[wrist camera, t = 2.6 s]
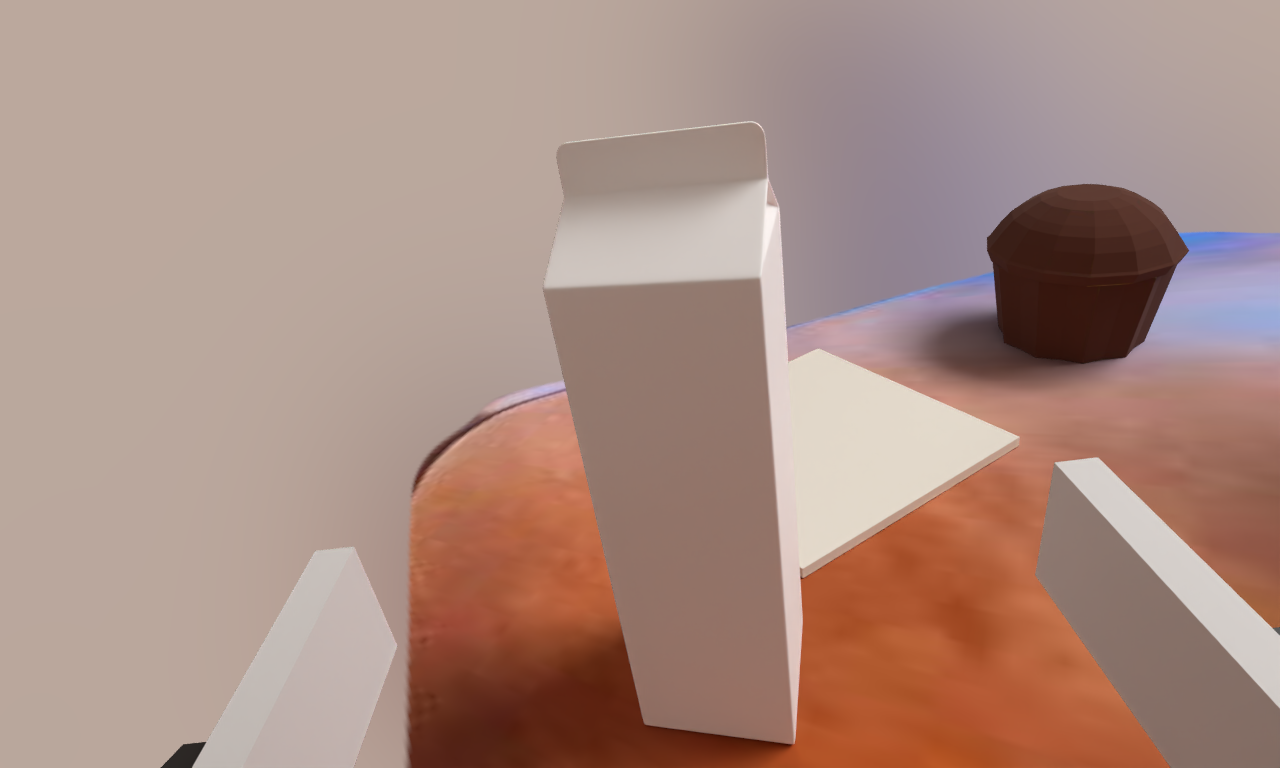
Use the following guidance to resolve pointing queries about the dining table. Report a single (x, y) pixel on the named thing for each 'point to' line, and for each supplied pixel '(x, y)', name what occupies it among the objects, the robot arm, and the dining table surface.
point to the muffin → (1082, 271)
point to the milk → (686, 416)
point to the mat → (872, 453)
